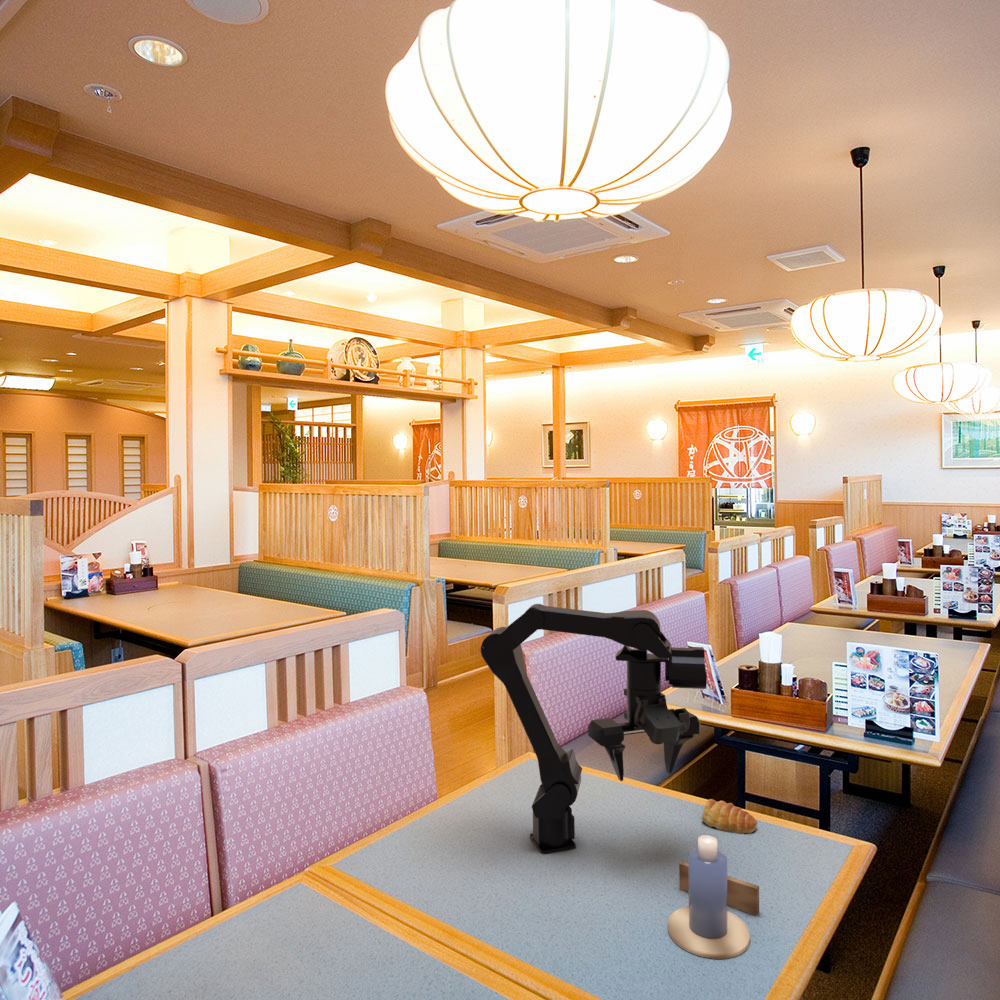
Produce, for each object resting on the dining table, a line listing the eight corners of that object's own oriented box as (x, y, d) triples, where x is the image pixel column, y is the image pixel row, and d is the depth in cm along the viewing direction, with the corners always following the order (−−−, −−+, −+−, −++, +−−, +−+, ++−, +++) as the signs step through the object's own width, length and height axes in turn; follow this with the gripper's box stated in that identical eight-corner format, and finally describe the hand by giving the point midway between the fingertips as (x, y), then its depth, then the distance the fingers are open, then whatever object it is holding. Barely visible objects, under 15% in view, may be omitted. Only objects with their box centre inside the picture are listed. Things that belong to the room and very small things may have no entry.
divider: (679, 888, 114) (679, 863, 114) (682, 886, 115) (681, 860, 115) (757, 916, 107) (756, 889, 106) (759, 912, 107) (759, 885, 107)
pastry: (761, 825, 135) (761, 805, 135) (750, 840, 129) (750, 819, 129) (711, 812, 140) (711, 792, 140) (698, 826, 135) (698, 806, 135)
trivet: (695, 966, 96) (695, 960, 96) (653, 918, 106) (653, 913, 106) (766, 949, 99) (766, 943, 99) (719, 904, 110) (719, 899, 110)
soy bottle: (689, 936, 101) (689, 847, 100) (688, 914, 106) (687, 829, 105) (729, 941, 100) (728, 850, 99) (725, 918, 105) (725, 832, 104)
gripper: (615, 705, 114) (616, 804, 115) (718, 693, 120) (719, 787, 120) (586, 686, 125) (587, 777, 125) (682, 676, 130) (683, 762, 131)
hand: (645, 776), depth 125 cm, fingers open, 9 cm apart
